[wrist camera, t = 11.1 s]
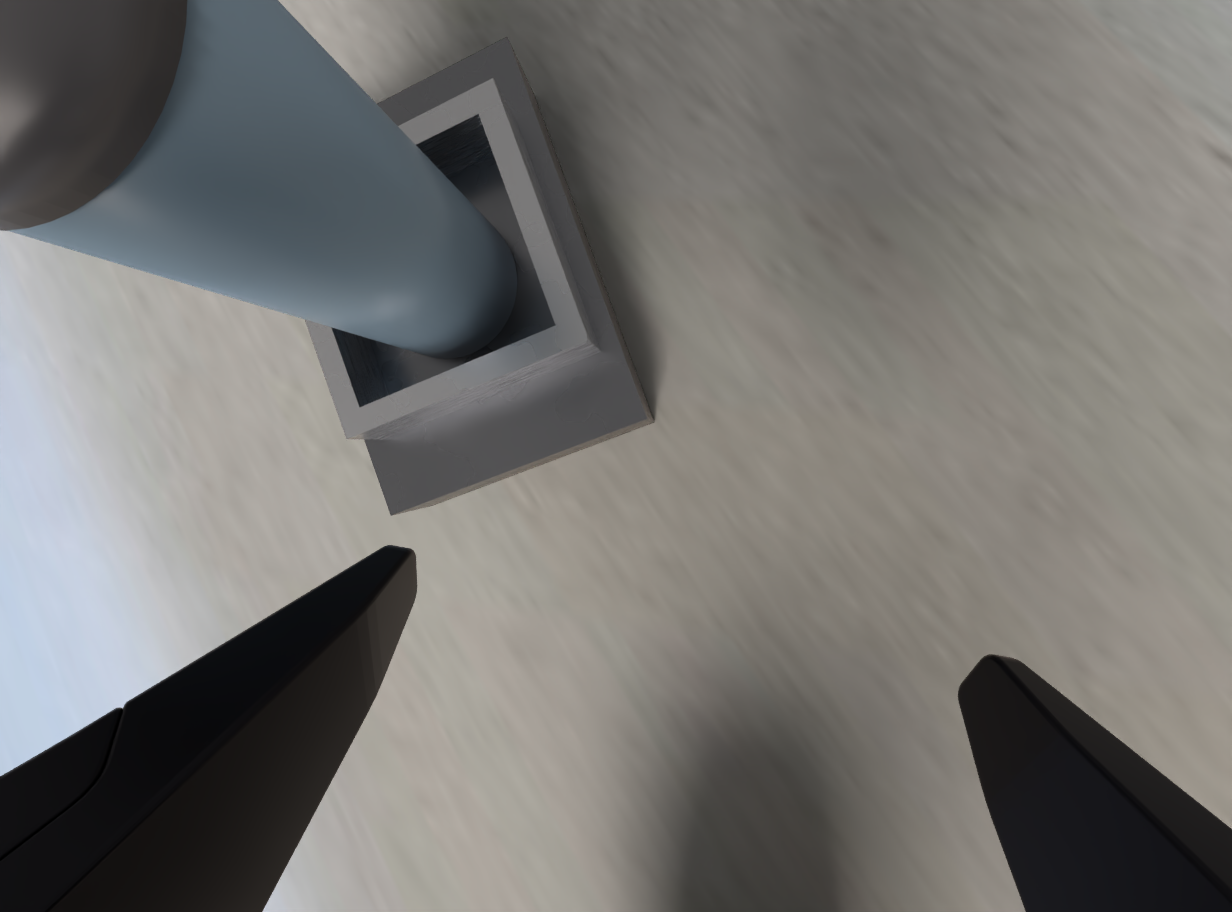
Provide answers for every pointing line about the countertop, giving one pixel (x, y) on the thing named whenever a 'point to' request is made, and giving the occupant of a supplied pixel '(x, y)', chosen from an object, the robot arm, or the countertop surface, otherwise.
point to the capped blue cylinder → (238, 169)
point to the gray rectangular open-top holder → (531, 338)
